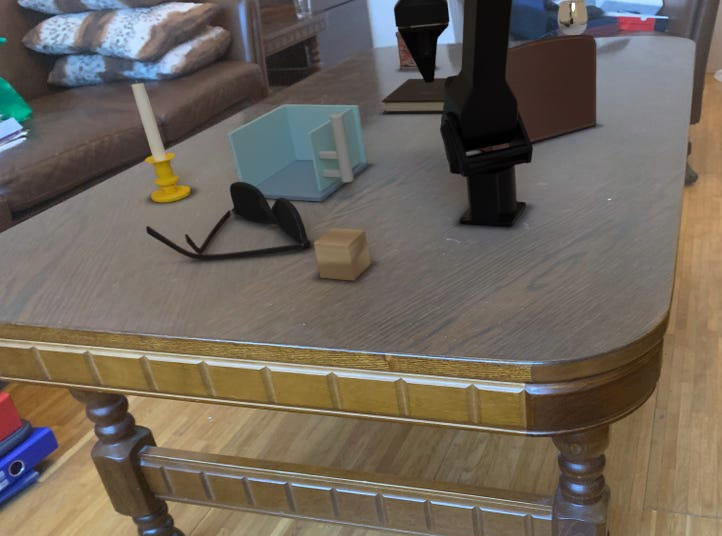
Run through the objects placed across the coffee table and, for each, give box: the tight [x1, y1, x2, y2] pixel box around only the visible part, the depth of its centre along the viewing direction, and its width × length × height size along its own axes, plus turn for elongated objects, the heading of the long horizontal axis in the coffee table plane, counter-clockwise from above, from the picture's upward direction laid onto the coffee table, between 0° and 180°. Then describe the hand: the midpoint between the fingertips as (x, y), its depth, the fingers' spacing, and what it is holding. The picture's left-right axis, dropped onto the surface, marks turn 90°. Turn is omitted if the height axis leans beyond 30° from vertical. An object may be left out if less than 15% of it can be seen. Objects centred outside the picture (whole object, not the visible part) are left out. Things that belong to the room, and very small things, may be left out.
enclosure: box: [226, 103, 369, 203], centre depth 104 cm, size 14×12×9 cm
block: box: [313, 227, 372, 282], centre depth 80 cm, size 4×4×4 cm
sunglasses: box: [145, 181, 311, 261], centre depth 87 cm, size 17×14×5 cm
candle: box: [131, 79, 192, 204], centre depth 101 cm, size 5×5×16 cm
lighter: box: [394, 31, 437, 72], centre depth 159 cm, size 8×3×10 cm, turn 73°
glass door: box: [307, 108, 361, 191], centre depth 101 cm, size 12×4×10 cm, turn 161°
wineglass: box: [557, 0, 589, 36], centre depth 150 cm, size 6×6×12 cm
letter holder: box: [479, 34, 597, 152], centre depth 114 cm, size 10×20×14 cm, turn 123°
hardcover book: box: [381, 77, 447, 115], centre depth 137 cm, size 16×23×2 cm
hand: (429, 74), depth 99 cm, fingers open, 9 cm apart
